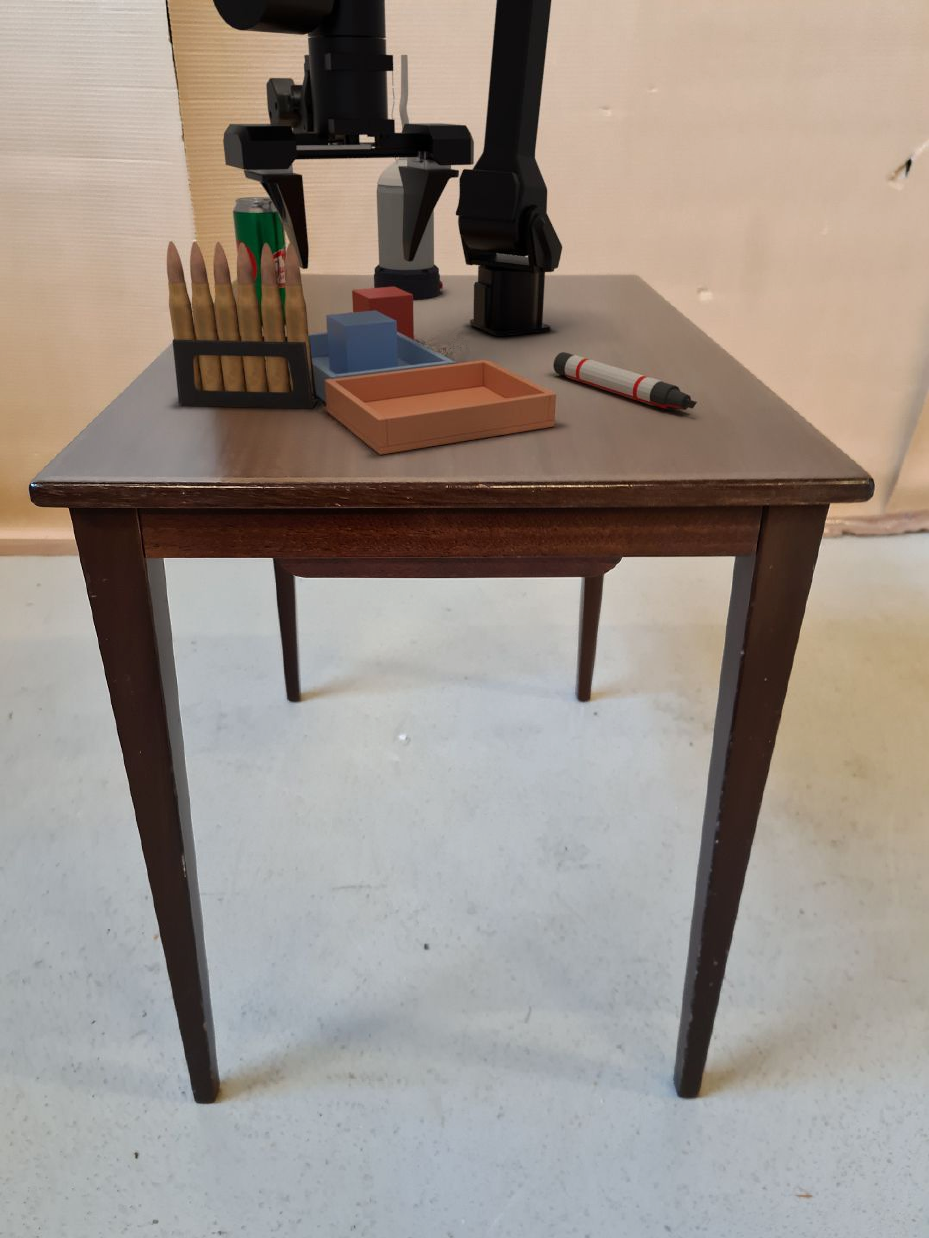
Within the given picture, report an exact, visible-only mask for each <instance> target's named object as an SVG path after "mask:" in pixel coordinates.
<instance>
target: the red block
mask: <svg viewBox="0 0 929 1238" xmlns="http://www.w3.org/2000/svg"><path fill="white" fill-rule="evenodd" d="M351 298H352V313H353V312H364V311H375V310H376V311H378V312H380V313H382V314H384V315H386V316H388V317H390V318H392V319H394V320H396V321H397V332H399V333H401V334H403V335H405V336H407V337H409V338H411V339H412V340H414V341H415V333H414V332H415V331H414V330H415V328H414V327H415V325H414V300H413V294H410V293H408V292H406V291H403V290H401V289H399V288H396V287H382V288H374V287H372V288H371V287H370V288H361V289H360V288H359V289H351Z"/></svg>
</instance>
